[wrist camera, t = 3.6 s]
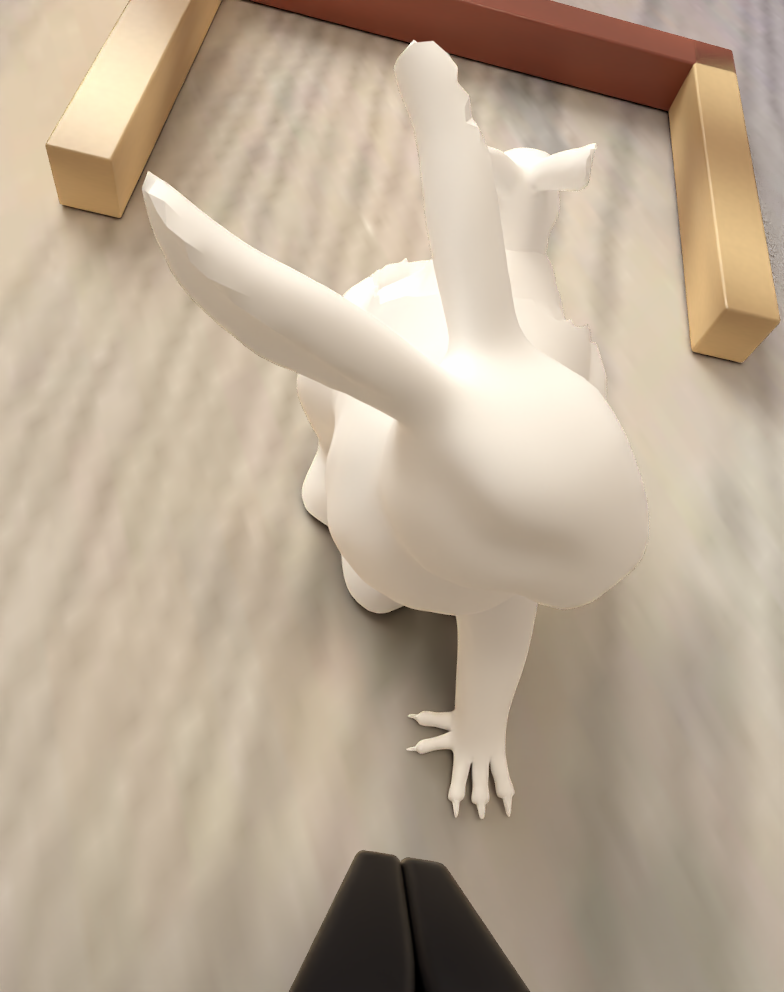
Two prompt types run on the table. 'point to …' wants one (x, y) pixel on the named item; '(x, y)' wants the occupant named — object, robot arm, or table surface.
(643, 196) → the table surface
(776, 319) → the bay
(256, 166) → the table surface
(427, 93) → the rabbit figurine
